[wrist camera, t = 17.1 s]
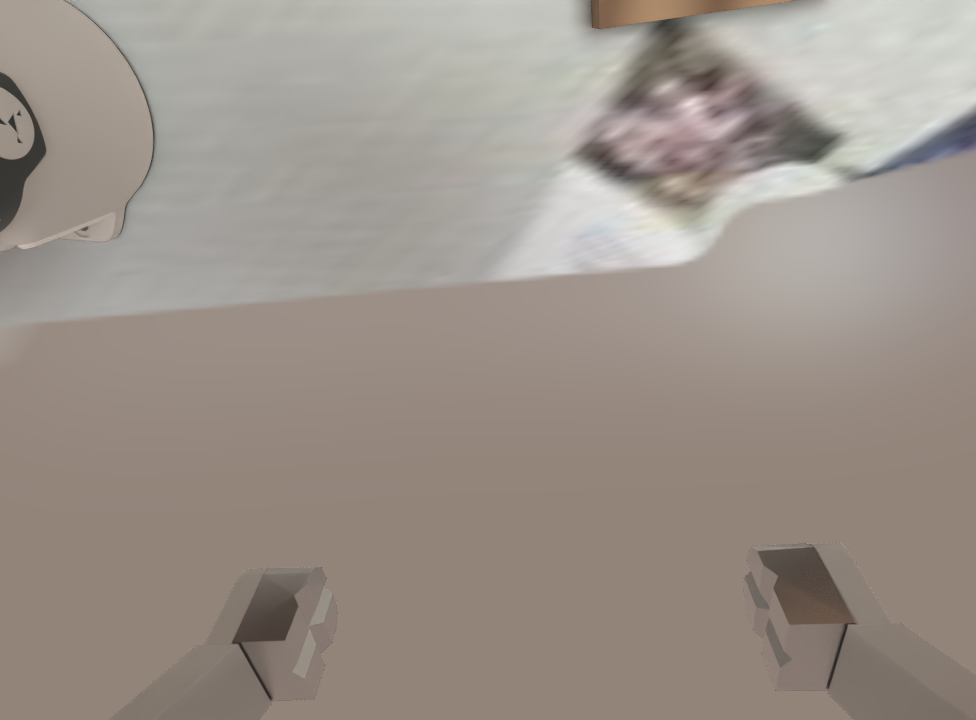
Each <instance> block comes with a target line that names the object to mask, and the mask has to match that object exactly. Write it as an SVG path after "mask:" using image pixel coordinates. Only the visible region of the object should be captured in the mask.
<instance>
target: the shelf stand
mask: <svg viewBox="0 0 976 720" xmlns="http://www.w3.org/2000/svg"><path fill="white" fill-rule="evenodd" d="M788 1H795V0H591V3H592V27H593V28H598V29H602V28H609V27H616V26H623V25H630V24H637V23H644V22H651V21H657V20H664V19H671V18H678V17H685V16H692V15H699V14H706V13H712V12H719V11H726V10H733V9H740V8H747V7H754V6H761V5H767V4H774V3H781V2H788Z"/></svg>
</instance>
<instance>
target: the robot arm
mask: <svg viewBox="0 0 976 720" xmlns="http://www.w3.org/2000/svg"><path fill="white" fill-rule="evenodd" d="M152 152H153V130H152V123H151V117H150V113H149V109H148V105H147V102H146V99H145V96H144V94H143V91H142V89H141V87H140V84H139V82H138V80H137V78H136V76H135V74H134V73H133V71H132V69H131V67H130V66H129V64H128V63H127V61H126V59H125V58H124V57H123V55H122V54H121V52H120V51H119V50H118V48H117V47H116V46H115V45H114V43H113V42H112V41H111V40H110V39H109V38H108V36H107V35H106V34H105V33H104V32H103V31H102V30H101V29H100V28H99V27H98V26H97V25H96V24H95V23H94V22H93V21H91V20H90V19H89V18H88V17H87V16H85V15H84V14H83V13H82V12H80V11H79V10H78V9H76V8H75V7H73V6H72V5H70V4H69V3H67V2H66V1H64V0H0V251H5V250H10V249H13V248H15V247H16V246H18V247H19V248H20V249H29V248H33V247H36V246H39V245H41V244H44V243H46V242H49V241H52V240H54V239H57V238H58V239H70V240H82V241H94V242H105V241H108V240H111V239H114V238H116V237H117V236H118V235H119V234H120V232H121V229H122V225H123V220H124V213H125V206H126V204H127V202H128V201H129V199H130V198H131V197H132V195H133V194H134V193H135V192H136V191H137V189H138V188H139V187H140V185H141V184H142V182H143V181H144V179H145V177H146V174H147V172H148V170H149V166H150V163H151V158H152ZM86 226H88V227H86ZM747 562H748V565H749V567H750V570H751V571H750V572H749V573H748V574H747V575H746V576H745V577H744V586H743V592H744V602H745V607H746V611H747V615H748V618H749V621H750V624H751V626H752V629H753V631H755V632H756V633H757V634H758V635H759V636H760V637H762V638H763V639H764V641H763V647H762V656H763V659H764V662H765V664H766V667H767V669H768V672H769V675H770V677H771V680H772V683H773V685H774V688H775V690H777V691H781V690H783V691H828V695H830V697H832V699H833V700H835V702H837V704H839V706H840V707H842V708H843V710H845V711H846V713H847V714H848V715H849V716H851V717H852V719H854V720H976V674H974V673H973V672H971V671H970V670H968V669H967V668H965V667H964V666H962V665H961V664H960V663H958V662H957V661H955V660H954V659H952V658H951V657H950V656H948V655H947V654H945V653H944V652H942V651H941V650H940V649H938V648H937V647H935V646H934V645H932V644H930V643H929V642H928V641H927V640H925V639H923V638H922V637H921V636H919V635H918V634H916V633H915V632H914V631H912V630H910V629H909V628H908V627H906V626H905V625H904V624H902V623H892V622H891V620H890V619H889V617H888V616H887V614H886V612H885V611H884V609H883V607H882V606H881V604H880V602H879V601H878V599H877V598H876V596H875V594H874V593H873V591H872V589H871V588H870V586H869V585H868V583H867V581H866V580H865V578H864V576H863V575H862V573H861V571H860V570H859V568H858V567H857V565H856V563H855V562H854V560H853V558H852V557H851V555H850V554H849V552H848V550H847V549H846V547H845V546H844V545H843V544H841V543H840V542H828V543H810V544H807V543H797V544H781V545H765V546H764V545H763V546H751V548H750V549H749V550H748V556H747ZM326 579H327V578H326V576H325V574H324V572H323V570H322V567H321V568H320V567H305V568H304V567H300V568H259V569H246V570H244V572H242V573H241V574H240V575H239V576H238V578H237V581H236V582H235V584H234V586H233V588H232V590H231V592H230V594H229V596H228V598H227V600H226V602H225V604H224V606H223V608H222V610H221V611H220V613H219V616H218V618H217V619H216V622H215V623H214V625H213V627H212V629H211V631H210V633H209V635H208V637H207V639H206V641H205V643H204V645H196V646H195V647H193V648H192V649H191V650H190V651H189V652H188V653H186V654H185V655H184V656H183V657H182V658H180V659H179V660H178V661H177V662H176V663H175V664H173V665H172V666H171V667H170V668H169V669H168V670H166V671H165V672H164V673H163V674H162V675H160V676H159V677H158V678H157V679H156V680H155V681H153V682H152V683H151V684H150V685H149V686H147V687H146V688H145V689H144V690H143V691H142V692H140V693H139V694H138V695H137V696H136V697H135V698H133V699H132V700H131V701H130V702H129V703H127V704H126V705H125V706H124V707H123V708H122V709H121V710H119V711H118V712H117V713H116V714H114V715H113V716H112V717H111V718H110V719H109V720H259V719H260V718H261V717H262V716H263V715H264V713H265V712H266V711H267V710H268V709H269V707H270V706H271V705H272V702H271V701H291V700H311V699H315V697H316V694H317V690H318V687H319V684H320V680H321V678H322V674H323V671H324V668H325V663H324V660H323V658H322V655H321V654H322V652H324V650H326V649H327V648H328V647H329V646H330V644H331V643H332V642H333V638H334V634H335V631H336V624H337V605H336V601H335V598H334V595H333V593H331V592H330V591H329V590H327V589H326V588H324V585H325V582H326Z"/></svg>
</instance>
